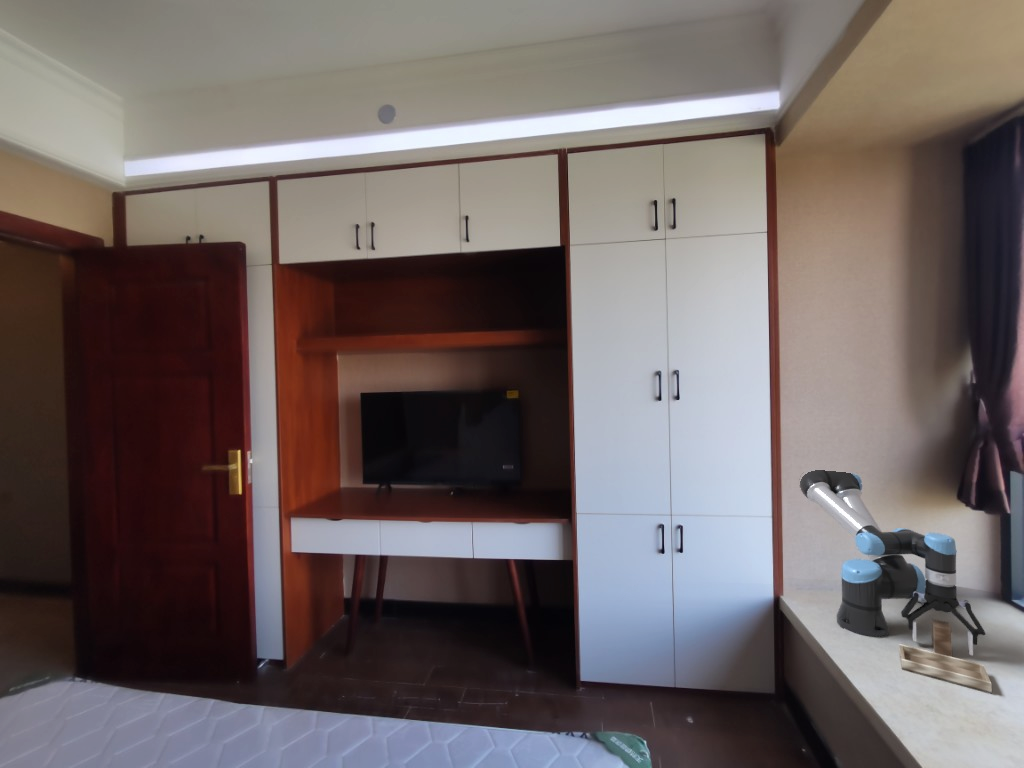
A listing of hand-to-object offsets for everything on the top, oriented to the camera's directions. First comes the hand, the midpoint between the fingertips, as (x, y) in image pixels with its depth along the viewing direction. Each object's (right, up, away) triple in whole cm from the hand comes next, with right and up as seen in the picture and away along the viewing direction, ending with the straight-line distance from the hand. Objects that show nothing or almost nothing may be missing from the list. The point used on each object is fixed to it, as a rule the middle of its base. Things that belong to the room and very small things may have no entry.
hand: (941, 646), depth 152 cm
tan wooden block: (0, -2, 0) cm, 2 cm away
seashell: (+31, +1, +28) cm, 42 cm away
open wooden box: (-10, -2, -10) cm, 14 cm away
